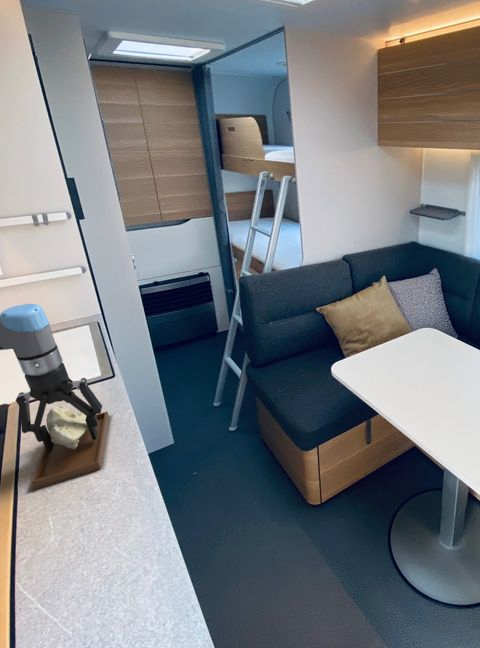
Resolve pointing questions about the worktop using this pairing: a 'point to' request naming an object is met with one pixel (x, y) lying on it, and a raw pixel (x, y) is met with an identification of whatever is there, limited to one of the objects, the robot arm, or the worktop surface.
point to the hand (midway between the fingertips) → (73, 442)
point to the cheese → (66, 426)
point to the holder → (72, 457)
